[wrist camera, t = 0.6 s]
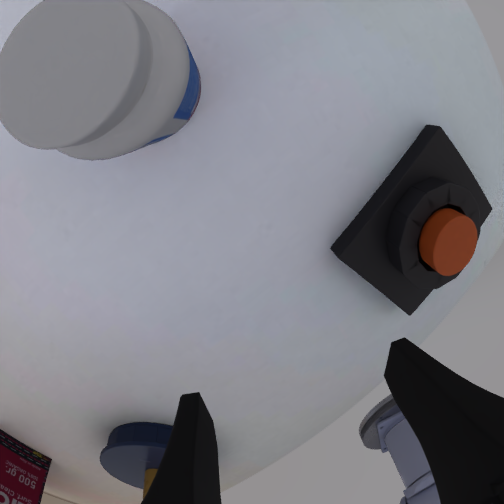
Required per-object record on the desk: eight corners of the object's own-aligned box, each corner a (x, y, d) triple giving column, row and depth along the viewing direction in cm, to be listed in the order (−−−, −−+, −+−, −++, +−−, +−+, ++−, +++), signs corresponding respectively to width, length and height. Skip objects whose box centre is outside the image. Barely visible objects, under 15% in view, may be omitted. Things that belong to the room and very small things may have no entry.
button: (436, 275, 17) (450, 287, 15) (407, 243, 16) (422, 255, 14) (469, 231, 16) (485, 240, 14) (444, 194, 15) (461, 202, 13)
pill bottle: (151, 25, 12) (83, -69, 3) (223, 88, 14) (236, 36, 5) (80, 102, 13) (-49, 101, 4) (148, 164, 15) (65, 226, 6)
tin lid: (235, 475, 25) (239, 510, 21) (147, 488, 26) (145, 519, 22) (175, 425, 21) (173, 471, 17) (78, 441, 21) (69, 477, 18)
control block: (400, 305, 21) (421, 329, 18) (329, 247, 18) (348, 270, 15) (480, 203, 18) (507, 216, 15) (426, 124, 16) (457, 128, 13)
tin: (228, 461, 27) (229, 480, 25) (149, 474, 27) (147, 491, 25) (174, 412, 23) (173, 435, 20) (89, 430, 23) (84, 449, 21)
